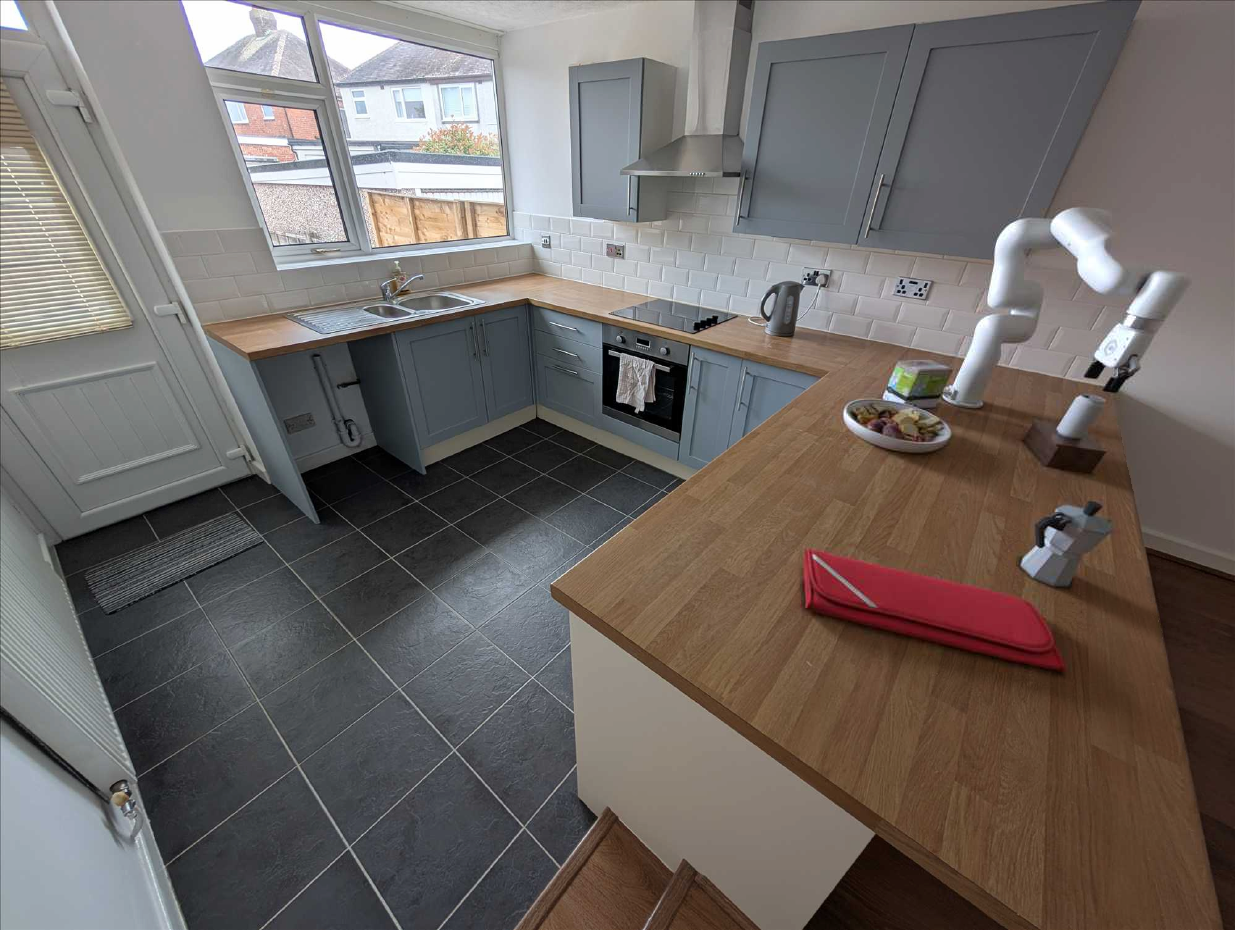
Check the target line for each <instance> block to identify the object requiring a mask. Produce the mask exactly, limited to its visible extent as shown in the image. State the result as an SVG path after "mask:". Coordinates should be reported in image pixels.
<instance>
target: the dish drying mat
mask: <svg viewBox="0 0 1235 930" xmlns="http://www.w3.org/2000/svg"><path fill="white" fill-rule="evenodd" d="M803 573H804V574H803V575H804V592H805V609H806V610H809V611H811V612H815V613H817V614H821V615H826V616H830V617H834V618H837V619H841V620H843V621H844V620H845V621H848V622H851V623H855V624H860V625H864V626H867V627H872V628H875V629H879V630H883V631H887V632H890V633H895V634H899V635H903V636H908V637H912V638H916V639H920V640H923V641H927V642H932V643H936V644H940V645H944V646H948V647H952V648H956V649H960V650H963V651H969V652H972V653H978V654H982V655H986V656H990V657H994V658H998V659H1002V660H1005V661H1009V662H1010V661H1011V662H1015V663H1018V664H1019V663H1020V664H1024V665H1029V666H1033V667H1038V668H1042V669H1048V670H1052V671H1058V672H1065V671H1066V669H1067V667H1066V664H1065V661H1064V659H1063V658H1062V656H1061V654H1060V653H1059V650H1058V649H1057V648H1056V641H1055V638H1054V636H1053V633H1052V631H1051V629H1050V627H1049V626H1048V624H1047V622H1046V621H1045V619H1044V618H1043V617H1042V615H1041V614H1040V612H1039V611H1038V610H1037V608H1036V607H1035V606H1034V605H1033V603H1031V602H1030V601H1029V600H1026V599H1023V598H1021V597H1018V596H1017V597H1015V596H1013V595H1010V594H1006V593H1003V592H999V591H995V590H992V589H988V588H983V587H982V588H981V587H977V586H972V585H968V584H965V583H964V584H963V583H959V582H954V581H950V580H946V579H941V578H937V577H932V576H928V575H923V574H919V573H914V572H910V571H906V570H902V569H899V568H898V569H897V568H892V567H888V566H884V565H878V564H875V563H871V562H867V561H862V560H857V559H853V558H850V557H846V556H842V555H837V554H833V553H828V552H824V551H821V550H817V549H811V548H806V547H805V549H804V556H803Z"/></svg>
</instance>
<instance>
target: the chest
mask: <svg viewBox="0 0 1235 930" xmlns="http://www.w3.org/2000/svg"><path fill="white" fill-rule="evenodd" d="M1022 441H1023V442H1024V443H1025V444H1026V445H1027V447H1028V448H1029V449H1030V450H1031V451H1032V452H1033V453H1034V455H1035V456H1036V457H1037V458H1038V459H1039V460H1040V461H1041V462H1042V463H1043V464H1044V465H1045V467H1049V468H1055V469H1060V470H1061V469H1062V470H1067V471H1073V472H1074V471H1075V472H1078V473H1079V472H1080V473H1085V474H1090V475H1091V474H1092V473H1093V472H1094V470H1095V469H1096V467H1098V465H1099V463H1100V462H1101V461H1102V459H1103V458H1104V456H1105V455H1106V454H1104V453H1097V452H1091V451H1084V450H1078V449H1071V448H1065V447H1059V446H1055V445H1054V444H1053V443H1052V442H1051V441H1050V440H1049V439H1048V438H1047V437H1046V436H1045V435H1044V434H1043V433H1042V432H1041V431H1040V430H1039V429H1038V428H1037V427H1036V426H1035V425H1034V424H1033V423H1032V424H1031V425H1030V427H1029V429H1028V431H1027V433H1026V434H1025V436H1024V437H1023V439H1022Z"/></svg>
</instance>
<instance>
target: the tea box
mask: <svg viewBox="0 0 1235 930" xmlns="http://www.w3.org/2000/svg"><path fill="white" fill-rule="evenodd" d="M953 371H954V369H953V368H951V367H949V366H947V365H945V364H942V363H940V362H938V361H936V360H933V359H912V360H911V359H909V360H898V361H897V362H896V365H895V367H894V369H893V372H892V374H891V377H890V379H889V380H888V384H887V385H886V389H885V391H884V393H883V396H882V400H890V401H895V402H900V403H904V404H907V405H911V406H914V407H917V408H919V409H929V408H931V409H932V408H936V407H937V404H938V403H939V401H940V398H941V396H942V395H943V394H942V392H943V390H944V388H946V387H947V384H948V382H949V379H950V378H951V376H952V373H953Z"/></svg>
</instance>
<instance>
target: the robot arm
mask: <svg viewBox="0 0 1235 930" xmlns="http://www.w3.org/2000/svg"><path fill="white" fill-rule="evenodd" d="M1113 222H1114V219H1113V215H1112V214H1111V212H1110V211H1108V210H1107V209H1104V208H1097V207H1071V208H1067V209H1065V210H1063V211H1061V212H1060V213H1058V214H1057V215H1056V216H1054V218H1043V217H1027V218H1020V219H1017V220H1014V221H1013V222H1011V223H1009V224H1008V225H1007V226H1006V227H1005V228H1004V229H1003V230H1002V231H1001V233H1000V234H999V235H998V237H997V239H996V243H995V247H994V256H993V257H994V261H993V269H992V273H991V277H990V283H989V288H988V294H987V301H986V303H987V306H988V307H989V308H991V309H993V310H1000V311H1001V310H1002V311H1006V310H1007V311H1011V312H1010V313H994V314H990V315H986V316H984V317H983V318H981V319H980V320H979V321H978V323H977V324H976V327H975V329H974V334H973V338H972V341H971V344H970V347H969V348H968V351H967V353H966V355H965V358H964V361H963V362H962V364H961V367H960V370H959V371H958V373H957V375H956V377H955V380H954V381H953V383H952V384H949V385H948V386H945V388H944V390H943V392H942V394H941V395H942V399H943V400H945V401H946V402H947V403H949V404H952V405H954V406H957V407H962V408H964V409H965V408H967V409H979V408H982V407H983V405H984V402H983V401H982V399H981V398H982V396H983V394H984V392H985V390H986V388H987V386H988V384H989V382H990V380H991V378H992V376H993V374H994V372H995V370H996V368H997V366H998V364H999V362H1000V360H1001V357H1002V344H1022V343H1025V342H1027V341H1029V340H1031V338H1033V336H1034V335H1035V333H1036V330H1037V328H1038V325H1039V322H1040V321H1039V319H1040V315H1041V312H1042V307H1043V303H1044V297H1045V291H1044V287H1043V285H1042V284H1041V283H1040V282H1039V281H1037V280H1032V279H1025V275H1026V270H1027V266H1028V265H1027V257H1026V254H1025V252H1024V250H1025V249H1033V250H1054V249H1061V248H1065V249H1067V250H1068V251H1069V252H1070V253H1071V254H1072V256H1074V257H1075V258H1076V259H1077V263H1076V265H1077V266H1076V267H1077V268H1076V269H1077V272H1078V275H1079V276H1080V278H1081V279H1082V280H1083V281H1084V282H1085V283H1086V284H1087V285H1088V286H1089V287H1090V288H1091V289H1093V290H1094V291H1095V292H1097V293H1099V294H1102V295H1106V296H1129V297H1130V296H1132V297H1133V296H1135V298H1134V299H1133V301H1132V302H1131V304H1130V306H1129V307H1128V309H1127V310H1126V312H1125V313H1124V314H1123V316H1122V318H1121V320H1120V321H1119V322H1118V323H1117V324H1116V325H1115V326H1114V327H1113V328H1112V329H1111V330H1110V332H1109V333H1108V335H1106V337H1105V338H1104V339H1103V341H1102V342H1101V344H1098V345H1097V347H1096V351H1095V352H1094V354H1093V359H1092V360H1091V361H1090V363H1091V364H1090V365H1089V367H1088V369H1086V371H1085V373H1084V375H1083V378H1084V379H1091V380H1098V379H1099V377H1100V376H1101V374H1102V373H1103V371H1104V370H1105V368H1106V367H1107V368H1110V369H1114V370H1113V376H1110V377H1109V379H1108V380H1107V381H1106V383H1105V385H1104V386H1103V387H1102V389H1101V390H1102V391H1103V392H1105V393H1112V394H1118V392H1119V391H1120V390H1121V388H1122V386H1123V385H1124V384H1125V382H1126V381H1128V380H1129V379H1130V378H1131V377H1134V375H1135V374H1136V373H1137V372H1139V371H1140V370H1141V369H1142V367H1141V364H1140V361H1141V360H1142V358H1143V357H1144V355H1145V354H1146V352H1147V350H1148V349H1149V347H1150V345H1151V343H1152V341H1153V339H1154V338H1155V335H1156V334H1158V331H1159V330H1160V328H1161V327H1162V326H1163V324H1164V323H1165V321H1166V320H1167V318H1168V317H1169V316H1170V314H1171V313H1172V311H1173V310H1174V308H1175V307H1176V306H1177V304H1178V303H1179V302H1180V300H1181V299H1182V297H1183V296H1184V294H1185V293H1186V291H1187V290H1188V288H1189V287H1190V286H1191V284H1192V282H1193V279H1194V278H1193V276H1192V275H1191V274H1188V273H1185V272H1180V271H1173V270H1167V269H1165V268H1162V267H1160V266H1157V265H1154V264H1146V263H1145V264H1142V263H1122V262H1120V261H1119V260H1117V258H1116V257H1114V256H1113V255H1112V254H1111V253H1109V252H1110V251H1111V250H1112V249H1113V247H1114V246H1115V245H1116V243H1117V241H1118V235H1117V234H1116V232H1114V231H1113V230H1111V228H1112V226H1113ZM1121 371H1122V372H1121Z"/></svg>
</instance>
